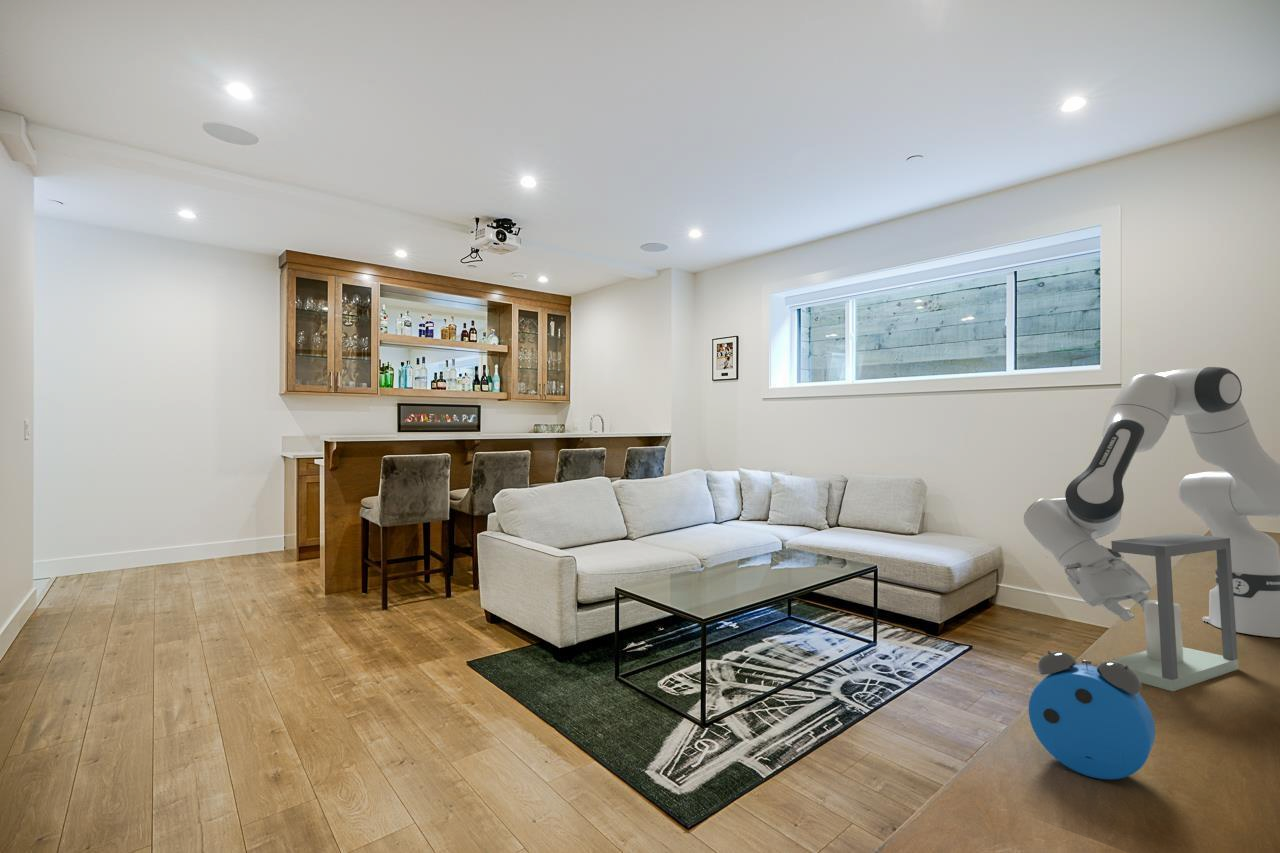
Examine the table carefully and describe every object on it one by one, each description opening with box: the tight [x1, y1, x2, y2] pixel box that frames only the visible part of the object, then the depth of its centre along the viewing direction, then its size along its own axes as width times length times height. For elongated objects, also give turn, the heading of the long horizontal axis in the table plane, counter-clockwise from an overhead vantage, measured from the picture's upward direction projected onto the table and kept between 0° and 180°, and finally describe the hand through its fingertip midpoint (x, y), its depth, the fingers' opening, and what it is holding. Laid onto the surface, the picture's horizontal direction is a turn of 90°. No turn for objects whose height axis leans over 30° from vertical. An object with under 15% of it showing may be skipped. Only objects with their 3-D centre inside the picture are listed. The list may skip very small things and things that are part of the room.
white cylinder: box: [1144, 599, 1184, 663], centre depth 120 cm, size 6×6×11 cm
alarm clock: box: [1028, 650, 1156, 780], centre depth 81 cm, size 13×6×15 cm, turn 44°
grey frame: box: [1108, 533, 1239, 692], centre depth 119 cm, size 26×11×26 cm, turn 116°
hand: (1142, 617), depth 123 cm, fingers open, 8 cm apart
